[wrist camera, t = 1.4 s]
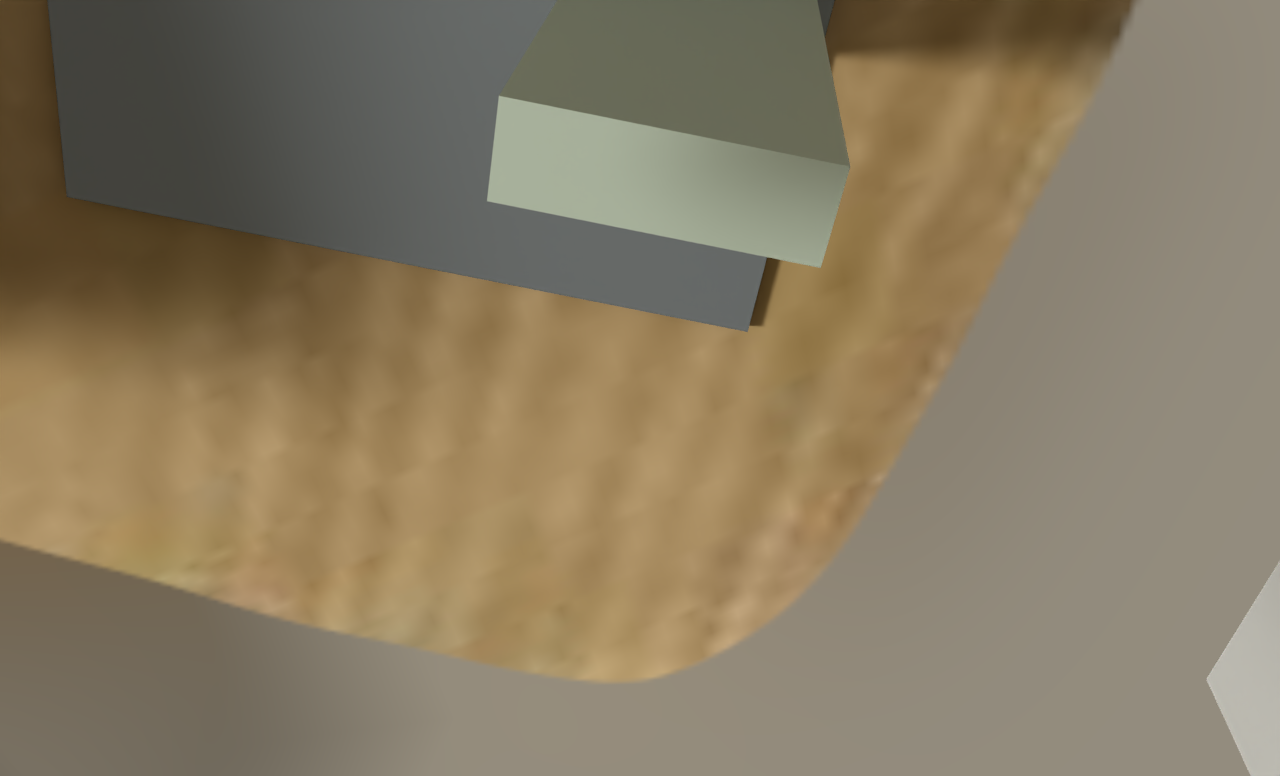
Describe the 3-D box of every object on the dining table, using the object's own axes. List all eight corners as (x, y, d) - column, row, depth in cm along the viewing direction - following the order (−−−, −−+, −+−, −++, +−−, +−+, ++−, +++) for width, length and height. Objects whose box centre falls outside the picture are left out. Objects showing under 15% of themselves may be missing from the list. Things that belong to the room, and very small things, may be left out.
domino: (592, -58, 25) (499, 96, 16) (814, -13, 25) (849, 166, 16) (582, 14, 26) (487, 201, 17) (796, 58, 26) (820, 267, 17)
